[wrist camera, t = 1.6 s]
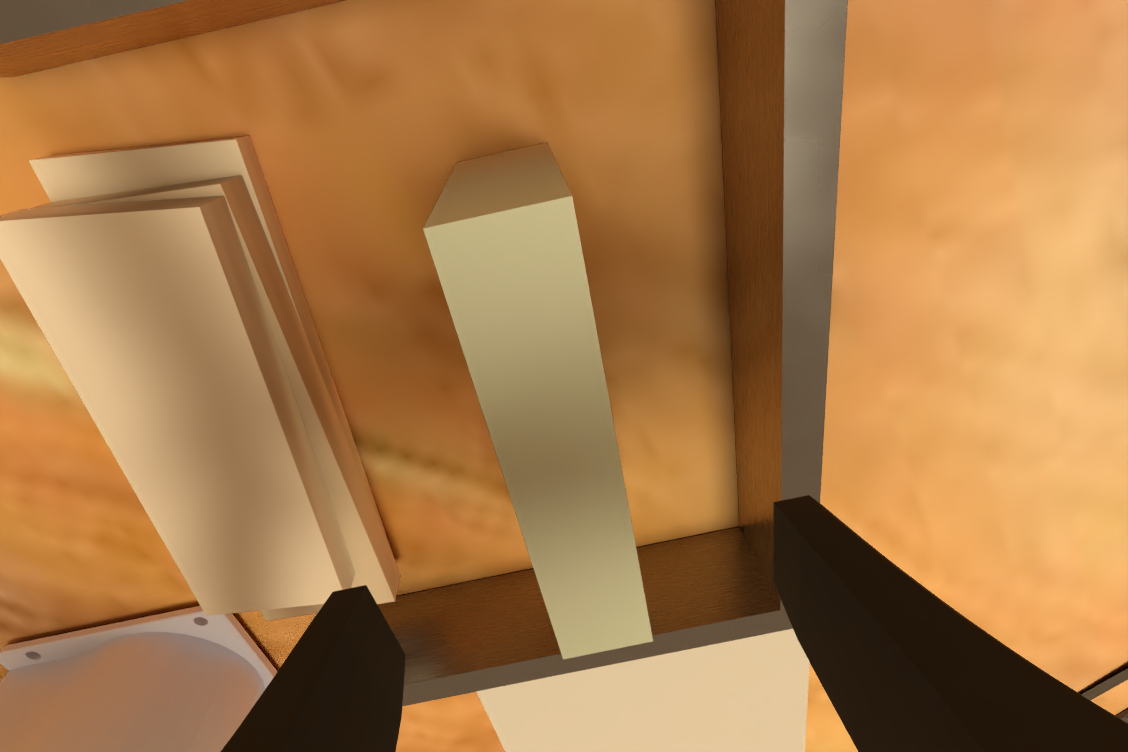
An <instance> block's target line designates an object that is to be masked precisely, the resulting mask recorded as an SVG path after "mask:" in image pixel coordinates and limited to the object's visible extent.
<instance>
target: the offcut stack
mask: <svg viewBox="0 0 1128 752" xmlns="http://www.w3.org/2000/svg"><path fill="white" fill-rule="evenodd" d="M29 162H30V164H31V166H32V168H33V170H34V171H35V173H36V175H37V177H38V179H39V181H40V183H41V184H42V186H43V188H44V190H45V192H46V194H47V196H48V197H49V199H50V201H51V202H50V203H47V204H44V205H40V206H37V207H34V208H31V209H22V210H19V211H15V212H12V213H9V214H5V215H2V216H0V259H1V261H2V263H3V264H4V266H5V268H6V270H7V271H8V273H9V275H10V277H11V278H12V280H13V282H14V283H15V285H16V287H17V289H18V290H19V292H20V294H21V296H22V297H23V299H24V301H25V303H26V304H27V306H28V308H29V309H30V311H31V313H32V315H33V316H34V318H35V320H36V322H37V323H38V325H39V327H40V329H41V330H42V332H43V334H44V335H45V337H46V339H47V341H48V342H49V344H50V346H51V348H52V349H53V351H54V353H55V355H56V356H57V358H58V360H59V361H60V363H61V365H62V367H63V368H64V370H65V372H66V374H67V375H68V377H69V379H70V381H71V382H72V384H73V386H74V388H75V389H76V391H77V393H78V394H79V396H80V398H81V400H82V401H83V403H84V405H85V407H86V408H87V410H88V412H89V414H90V415H91V417H92V419H93V420H94V422H95V424H96V426H97V427H98V429H99V431H100V433H101V434H102V436H103V438H104V440H105V441H106V443H107V445H108V446H109V448H110V450H111V452H112V453H113V455H114V457H115V459H116V460H117V462H118V464H119V466H120V467H121V469H122V471H123V473H124V474H125V476H126V478H127V479H128V481H129V483H130V485H131V486H132V488H133V490H134V492H135V493H136V495H137V497H138V499H139V500H140V502H141V504H142V505H143V507H144V509H145V511H146V512H147V514H148V516H149V518H150V519H151V521H152V523H153V525H154V526H155V528H156V530H157V531H158V533H159V535H160V537H161V538H162V540H163V542H164V544H165V545H166V547H167V549H168V551H169V552H170V554H171V556H172V557H173V559H174V561H175V563H176V564H177V566H178V568H179V570H180V571H181V573H182V575H183V577H184V578H185V580H186V582H187V584H188V585H189V587H190V589H191V590H192V592H193V594H194V596H195V597H196V599H197V601H198V603H199V604H200V606H201V608H202V610H203V611H204V613H205V615H206V616H211V615H221V614H230V613H240V612H250V611H260V612H261V613H262V615H263V617H264V618H265V620H266V621H270V620H276V619H283V618H289V617H296V616H303V615H309V614H316V613H318V612H319V611H320V609H321V608H322V606H323V605H324V603H325V602H326V601H327V599H328V598H329V596H330V595H331V593H332V592H334V591H339V590H344V589H349V588H354V587H358V586H363V585H367V587H368V589H369V591H370V592H371V594H372V596H373V598H374V600H375V601H376V603H377V604H382V603H388V602H395V600H396V595H397V591H398V586H399V581H400V577H401V575H400V572H399V570H398V567H397V565H396V561H395V558H394V555H393V552H392V549H391V547H390V544H389V541H388V538H387V535H386V532H385V529H384V526H383V523H382V520H381V517H380V514H379V512H378V509H377V506H376V503H375V500H374V497H373V494H372V491H371V488H370V485H369V482H368V479H367V477H366V474H365V471H364V468H363V465H362V462H361V459H360V456H359V453H358V450H357V447H356V444H355V442H354V439H353V436H352V433H351V430H350V427H349V424H348V421H347V418H346V415H345V412H344V409H343V407H342V404H341V401H340V398H339V395H338V392H337V389H336V386H335V383H334V380H333V377H332V374H331V372H330V369H329V366H328V363H327V360H326V357H325V354H324V351H323V348H322V345H321V342H320V339H319V336H318V334H317V331H316V328H315V325H314V322H313V319H312V316H311V313H310V310H309V307H308V304H307V301H306V299H305V296H304V293H303V290H302V287H301V284H300V281H299V278H298V275H297V272H296V269H295V266H294V264H293V261H292V258H291V255H290V252H289V249H288V246H287V243H286V240H285V237H284V234H283V231H282V229H281V226H280V223H279V220H278V217H277V214H276V211H275V208H274V205H273V202H272V199H271V196H270V194H269V191H268V188H267V185H266V182H265V179H264V176H263V173H262V170H261V167H260V164H259V161H258V159H257V156H256V153H255V150H254V147H253V144H252V141H251V138H250V135H249V136H240V137H230V138H220V139H210V140H200V141H191V142H181V143H171V144H161V145H151V146H142V147H132V148H122V149H112V150H103V151H93V152H83V153H73V154H63V155H54V156H48V157H43V158H39V159H34V160H29Z"/></svg>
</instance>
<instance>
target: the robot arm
mask: <svg viewBox="0 0 1128 752" xmlns="http://www.w3.org/2000/svg"><path fill="white" fill-rule="evenodd" d="M774 584H775V586H776V588H777V591H778V593H779V596H780V598H781V601H782V603H783V606H784V608H785V611H786V613H787V616H788V618H789V620H790V623H791V625H792V627H793V630H794V632H795V634H796V637H797V639H798V641H799V643H800V645H801V647H802V649H803V650H804V652H805V654H806V656H807V658H808V660H809V662H810V663H811V665H812V667H813V669H814V671H815V673H816V675H817V676H818V678H819V680H820V682H821V684H822V686H823V688H824V689H825V691H826V693H827V695H828V697H829V699H830V700H831V702H832V704H833V706H834V708H835V710H836V711H837V713H838V715H839V717H840V719H841V720H842V722H843V724H844V726H845V728H846V730H847V731H848V733H849V735H850V737H851V739H852V741H853V742H854V744H855V746H856V748H857V750H858V752H1128V723H1127V722H1125V721H1123V720H1121V719H1120V718H1118V717H1116V716H1115V715H1113V714H1111V713H1110V712H1108V711H1106V710H1105V709H1103V708H1101V707H1100V706H1098V705H1097V704H1095V703H1093V702H1092V701H1090V700H1089V699H1087V698H1085V697H1084V696H1082V695H1081V694H1079V693H1077V692H1076V691H1074V690H1073V689H1071V688H1069V687H1068V686H1066V685H1065V684H1063V683H1062V682H1060V681H1058V680H1057V679H1055V678H1054V677H1052V676H1050V675H1049V674H1047V673H1046V672H1044V671H1043V670H1041V669H1040V668H1038V667H1037V666H1035V665H1034V664H1032V663H1031V662H1029V661H1028V660H1026V659H1025V658H1023V657H1022V656H1020V655H1019V654H1017V653H1016V652H1014V651H1013V650H1011V649H1010V648H1008V647H1007V646H1005V645H1004V644H1002V643H1001V642H1000V641H998V640H997V639H995V638H994V637H992V636H991V635H990V634H988V633H987V632H985V631H984V630H982V629H981V628H980V627H978V626H977V625H975V624H974V623H972V622H971V621H969V620H968V619H967V618H965V617H964V616H963V615H961V614H960V613H958V612H957V611H956V610H954V609H953V608H952V607H950V606H949V605H947V604H946V603H945V602H943V601H942V600H941V599H939V598H938V597H937V596H935V595H934V594H933V593H931V592H930V591H929V590H927V589H926V588H925V587H923V586H922V585H921V584H920V583H918V582H917V581H916V580H914V579H913V578H912V577H910V576H909V575H908V574H906V573H905V572H904V571H902V570H901V569H900V568H899V567H897V566H896V565H895V564H893V563H892V562H891V561H890V560H888V559H887V558H886V557H885V556H883V555H882V554H881V553H880V552H878V551H877V550H876V549H875V548H873V547H872V546H871V545H870V544H868V543H867V542H866V541H865V540H863V539H862V538H861V537H860V536H859V535H857V534H856V533H855V532H854V531H852V530H851V529H850V528H849V527H848V526H846V525H845V524H844V523H843V522H842V521H840V520H839V519H838V518H837V517H836V516H834V515H833V514H832V513H831V512H830V511H829V510H827V509H826V508H825V507H824V506H823V505H821V504H820V503H819V502H818V501H817V500H815V499H814V498H812V497H811V496H809V495H807V496H802V497H797V498H792V499H787V500H782V501H777V502H774ZM405 656H406V655H405V653H404V651H403V649H402V647H401V646H400V644H399V642H398V640H397V639H396V637H395V635H394V633H393V631H392V630H391V628H390V626H389V624H388V623H387V621H386V619H385V617H384V616H383V614H382V612H381V610H380V608H379V607H378V605H377V603H376V601H375V600H374V598H373V596H372V594H371V592H370V591H369V589H368V587H367V585H363V586H358V587H354V588H349V589H344V590H339V591H334V592H332V593H331V595H330V596H329V598H328V599H327V601H326V602H325V603H324V605H323V606H322V608H321V609H320V611H319V612H318V613H317V615H316V616H315V618H314V619H313V621H312V622H311V624H310V625H309V627H308V628H307V629H306V631H305V632H304V634H303V635H302V637H301V638H300V640H299V641H298V643H297V644H296V646H295V647H294V649H293V650H292V651H291V653H290V654H289V656H288V657H287V659H286V660H285V662H284V663H283V665H282V666H281V668H280V669H279V670H278V672H277V670H276V669H275V668H274V667H273V665H272V664H271V663H270V661H269V660H268V659H267V658H266V656H265V655H264V654H263V652H262V651H261V650H260V649H259V647H258V646H257V645H256V643H255V642H254V641H253V640H252V638H251V637H250V636H249V634H248V633H247V632H246V631H245V629H244V628H243V627H242V625H241V624H240V623H239V622H238V620H237V619H236V618H235V616H234V615H233V614H232V613H230V614H221V615H211V616H206V615H205V613H204V611H203V610H202V608H201V606H196V607H191V608H186V609H181V610H177V611H172V612H167V613H162V614H157V615H152V616H147V617H142V618H138V619H133V620H128V621H123V622H118V623H113V624H108V625H103V626H98V627H94V628H89V629H84V630H79V631H74V632H69V633H64V634H59V635H54V636H50V637H45V638H40V639H35V640H30V641H25V642H20V643H15V644H10V645H7V646H4V647H3V648H2V649H1V651H0V664H1V665H2V666H4V667H5V668H6V669H7V670H8V673H7V674H6V675H5V676H4V677H3V679H2V680H1V681H0V752H395V750H396V745H397V739H398V734H399V728H400V722H401V714H402V702H403V691H404V674H405Z"/></svg>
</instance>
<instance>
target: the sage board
mask: <svg viewBox="0 0 1128 752" xmlns="http://www.w3.org/2000/svg"><path fill="white" fill-rule="evenodd" d="M423 230H424V233H425V237H426V240H427V243H428V246H429V249H430V252H431V255H432V258H433V261H434V264H435V267H436V270H437V273H438V276H439V280H440V283H441V286H442V289H443V292H444V295H445V298H446V301H447V304H448V307H449V310H450V313H451V316H452V319H453V323H454V326H455V329H456V332H457V335H458V338H459V341H460V344H461V347H462V350H463V353H464V356H465V359H466V362H467V366H468V369H469V372H470V375H471V378H472V381H473V384H474V387H475V390H476V393H477V396H478V399H479V402H480V406H481V409H482V412H483V415H484V418H485V421H486V424H487V427H488V430H489V433H490V436H491V439H492V442H493V445H494V449H495V452H496V455H497V458H498V461H499V464H500V467H501V470H502V473H503V476H504V479H505V482H506V485H507V488H508V492H509V495H510V498H511V501H512V504H513V507H514V510H515V513H516V516H517V519H518V522H519V525H520V528H521V531H522V535H523V538H524V541H525V544H526V547H527V550H528V553H529V556H530V559H531V562H532V565H533V568H534V571H535V574H536V578H537V581H538V584H539V587H540V590H541V593H542V596H543V599H544V602H545V605H546V608H547V611H548V614H549V618H550V621H551V624H552V627H553V630H554V633H555V636H556V639H557V642H558V645H559V648H560V651H561V654H562V657H563V659H568V658H573V657H578V656H583V655H588V654H593V653H598V652H603V651H608V650H613V649H618V648H623V647H628V646H632V645H637V644H642V643H647V642H652V641H653V638H652V632H651V627H650V621H649V616H648V610H647V605H646V599H645V594H644V588H643V583H642V577H641V572H640V566H639V561H638V555H637V550H636V544H635V539H634V533H633V528H632V522H631V517H630V511H629V506H628V500H627V495H626V489H625V484H624V478H623V472H622V467H621V461H620V456H619V450H618V445H617V439H616V434H615V428H614V423H613V417H612V412H611V406H610V401H609V395H608V390H607V384H606V379H605V373H604V368H603V362H602V357H601V351H600V346H599V340H598V335H597V329H596V324H595V318H594V313H593V307H592V302H591V296H590V291H589V285H588V280H587V274H586V269H585V263H584V258H583V252H582V247H581V241H580V236H579V230H578V225H577V219H576V214H575V208H574V203H573V197H572V194H571V192H570V190H569V188H568V186H567V184H566V182H565V179H564V177H563V175H562V173H561V171H560V169H559V167H558V164H557V162H556V160H555V158H554V156H553V154H552V152H551V149H550V147H549V145H548V143H547V142H546V143H542V144H537V145H533V146H528V147H524V148H519V149H515V150H510V151H505V152H501V153H496V154H492V155H487V156H483V157H478V158H474V159H469V160H465V161H460V162H457V164H456V166H455V168H454V170H453V172H452V173H451V175H450V177H449V179H448V181H447V183H446V185H445V187H444V189H443V191H442V193H441V195H440V197H439V199H438V201H437V203H436V204H435V206H434V208H433V210H432V212H431V214H430V216H429V218H428V220H427V222H426V224H425V226H424V228H423Z"/></svg>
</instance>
